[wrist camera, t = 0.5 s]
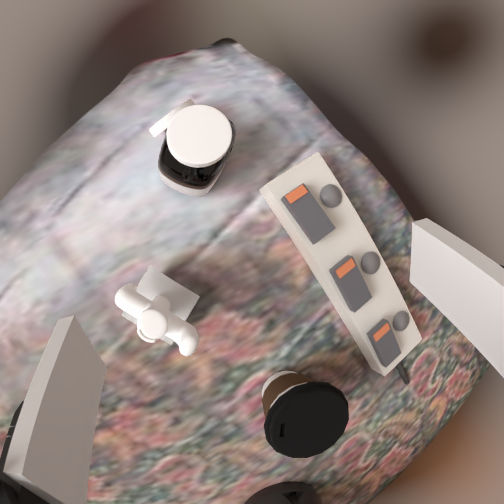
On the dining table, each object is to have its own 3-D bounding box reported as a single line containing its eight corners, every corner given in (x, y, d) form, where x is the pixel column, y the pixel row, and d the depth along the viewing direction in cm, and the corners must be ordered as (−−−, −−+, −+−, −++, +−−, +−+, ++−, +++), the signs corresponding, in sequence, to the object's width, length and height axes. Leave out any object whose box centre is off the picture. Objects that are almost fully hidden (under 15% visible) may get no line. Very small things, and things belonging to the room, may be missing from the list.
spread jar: (205, 207, 42) (213, 191, 31) (130, 175, 40) (113, 149, 29) (240, 132, 43) (258, 96, 32) (169, 103, 41) (167, 59, 30)
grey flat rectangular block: (332, 230, 40) (336, 228, 39) (312, 244, 40) (316, 243, 38) (300, 185, 41) (303, 182, 39) (280, 199, 40) (282, 196, 39)
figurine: (145, 260, 41) (125, 263, 26) (205, 296, 42) (217, 319, 28) (119, 305, 40) (88, 332, 25) (179, 341, 42) (178, 384, 27)
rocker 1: (367, 295, 43) (373, 297, 41) (350, 310, 42) (355, 313, 41) (347, 254, 41) (353, 256, 40) (328, 270, 40) (334, 271, 39)
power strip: (422, 366, 51) (437, 372, 46) (389, 399, 49) (402, 408, 45) (307, 159, 46) (319, 150, 41) (258, 190, 44) (266, 183, 40)
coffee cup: (245, 421, 43) (264, 466, 32) (247, 356, 44) (270, 390, 32) (312, 415, 46) (345, 453, 34) (319, 353, 46) (358, 380, 34)
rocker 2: (396, 350, 44) (402, 353, 43) (381, 364, 43) (386, 368, 42) (383, 318, 42) (389, 321, 41) (366, 333, 42) (372, 336, 40)
